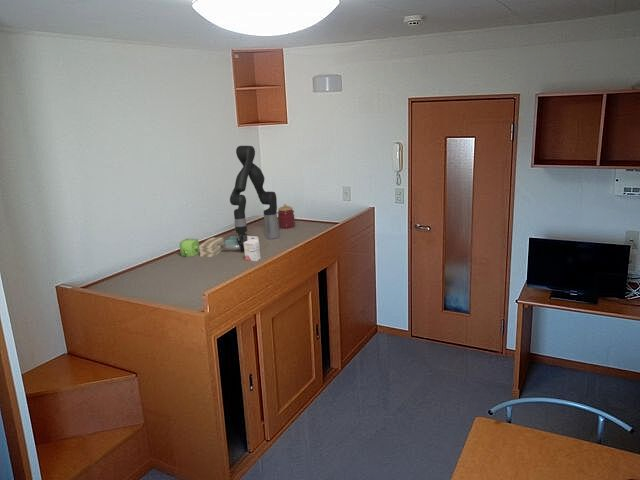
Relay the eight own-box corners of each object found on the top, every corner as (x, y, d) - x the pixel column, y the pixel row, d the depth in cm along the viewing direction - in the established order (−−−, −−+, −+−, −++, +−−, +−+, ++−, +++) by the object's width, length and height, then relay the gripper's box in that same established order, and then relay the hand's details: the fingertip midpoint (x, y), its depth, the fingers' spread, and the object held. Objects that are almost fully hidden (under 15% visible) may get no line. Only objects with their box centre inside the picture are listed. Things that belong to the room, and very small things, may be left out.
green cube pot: (191, 259, 346) (190, 245, 344) (177, 258, 348) (176, 244, 346) (203, 250, 363) (202, 237, 360) (190, 250, 365) (188, 236, 362)
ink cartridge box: (245, 260, 333) (242, 237, 329) (249, 258, 337) (246, 235, 334) (256, 261, 329) (254, 238, 326) (261, 259, 334) (258, 236, 330)
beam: (224, 248, 365) (223, 237, 363) (213, 256, 346) (212, 245, 344) (211, 248, 367) (210, 237, 365) (200, 256, 348) (199, 245, 346)
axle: (248, 248, 354) (248, 243, 353) (246, 251, 350) (246, 245, 349) (222, 248, 357) (222, 242, 356) (220, 250, 353) (219, 244, 352)
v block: (243, 243, 373) (242, 236, 372) (237, 248, 361) (236, 241, 360) (232, 243, 375) (231, 236, 374) (225, 249, 363) (224, 241, 361)
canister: (294, 228, 408) (292, 205, 404) (277, 229, 409) (275, 206, 404) (295, 224, 421) (294, 202, 416) (279, 225, 421) (277, 203, 417)
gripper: (242, 227, 341) (245, 253, 345) (249, 222, 354) (252, 247, 358) (231, 227, 342) (234, 253, 347) (238, 222, 355) (241, 247, 360)
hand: (243, 250), depth 352 cm, fingers closed on axle, 3 cm apart
